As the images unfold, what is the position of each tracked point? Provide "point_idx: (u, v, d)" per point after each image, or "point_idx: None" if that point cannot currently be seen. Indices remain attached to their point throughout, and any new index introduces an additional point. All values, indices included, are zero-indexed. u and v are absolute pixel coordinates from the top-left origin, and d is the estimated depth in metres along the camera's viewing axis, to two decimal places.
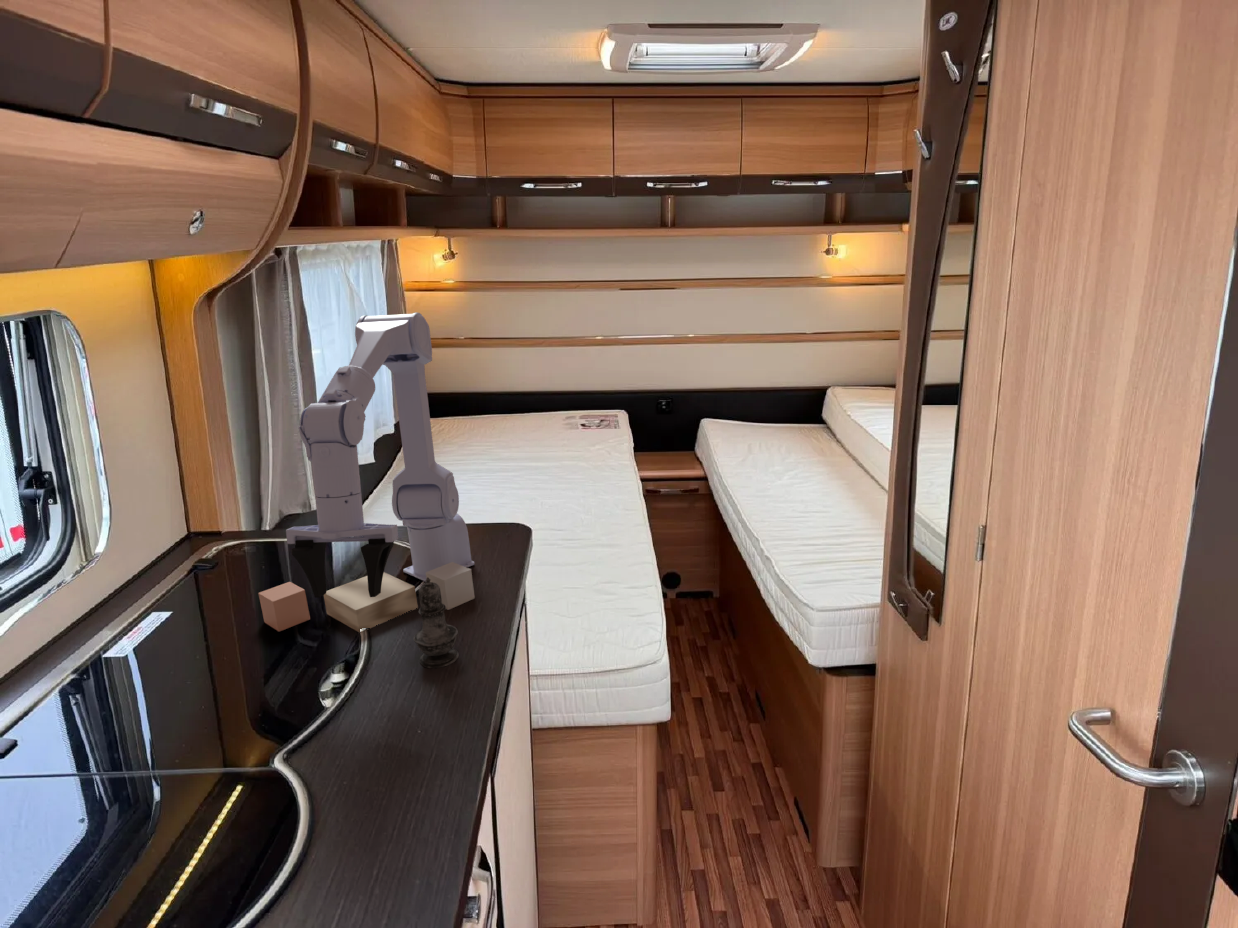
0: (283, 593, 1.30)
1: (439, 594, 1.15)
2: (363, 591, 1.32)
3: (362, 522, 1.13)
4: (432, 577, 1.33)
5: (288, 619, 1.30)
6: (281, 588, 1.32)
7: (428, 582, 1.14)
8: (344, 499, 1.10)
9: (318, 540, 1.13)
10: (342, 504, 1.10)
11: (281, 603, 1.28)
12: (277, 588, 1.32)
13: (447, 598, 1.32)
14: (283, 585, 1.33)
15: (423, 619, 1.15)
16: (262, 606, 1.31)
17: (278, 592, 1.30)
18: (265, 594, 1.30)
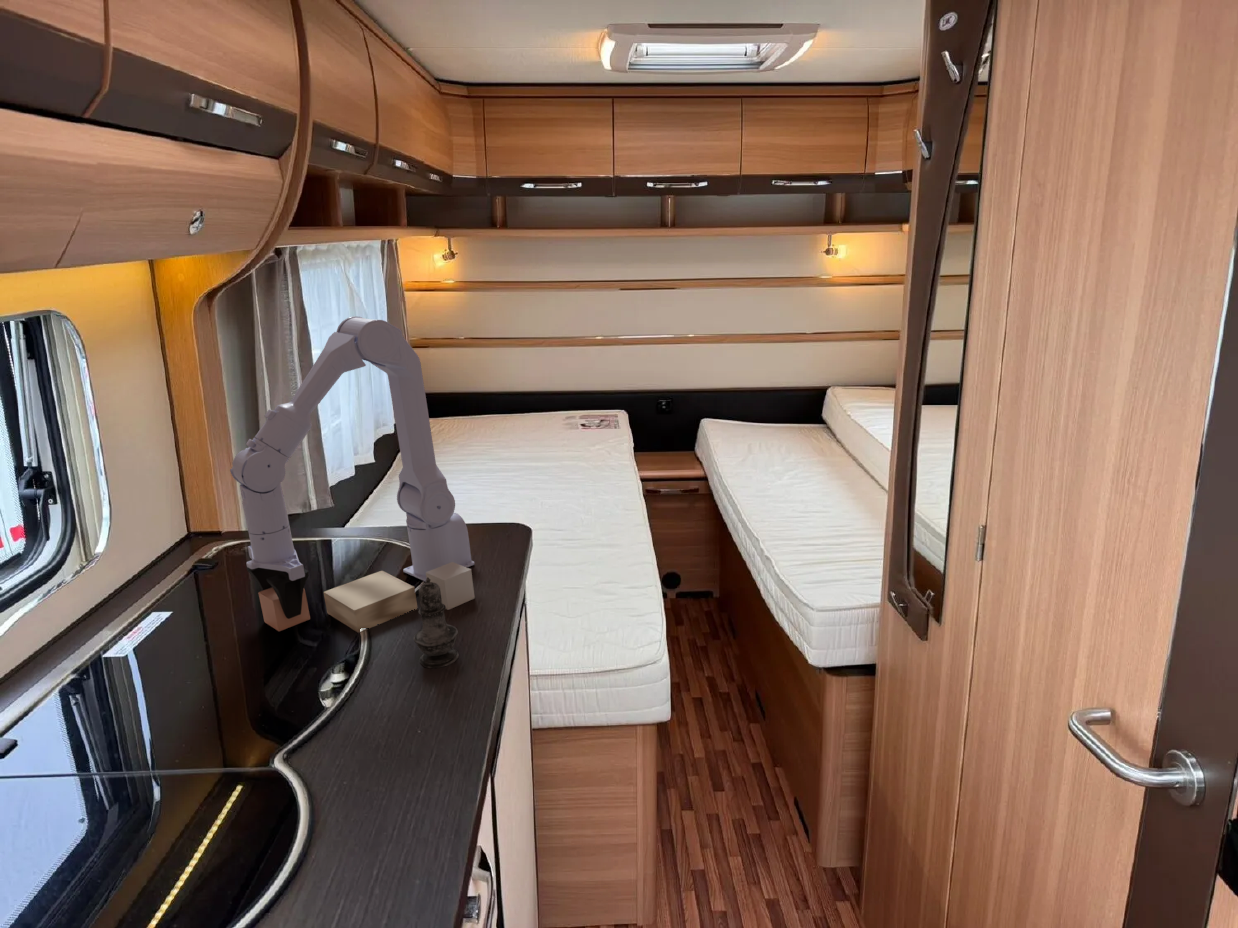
0: None
1: (439, 594, 1.15)
2: (363, 591, 1.32)
3: (284, 555, 1.27)
4: (432, 577, 1.33)
5: None
6: None
7: (428, 582, 1.14)
8: (260, 537, 1.25)
9: None
10: (259, 540, 1.25)
11: None
12: None
13: (447, 598, 1.32)
14: None
15: (423, 619, 1.15)
16: (262, 605, 1.31)
17: None
18: (265, 594, 1.30)
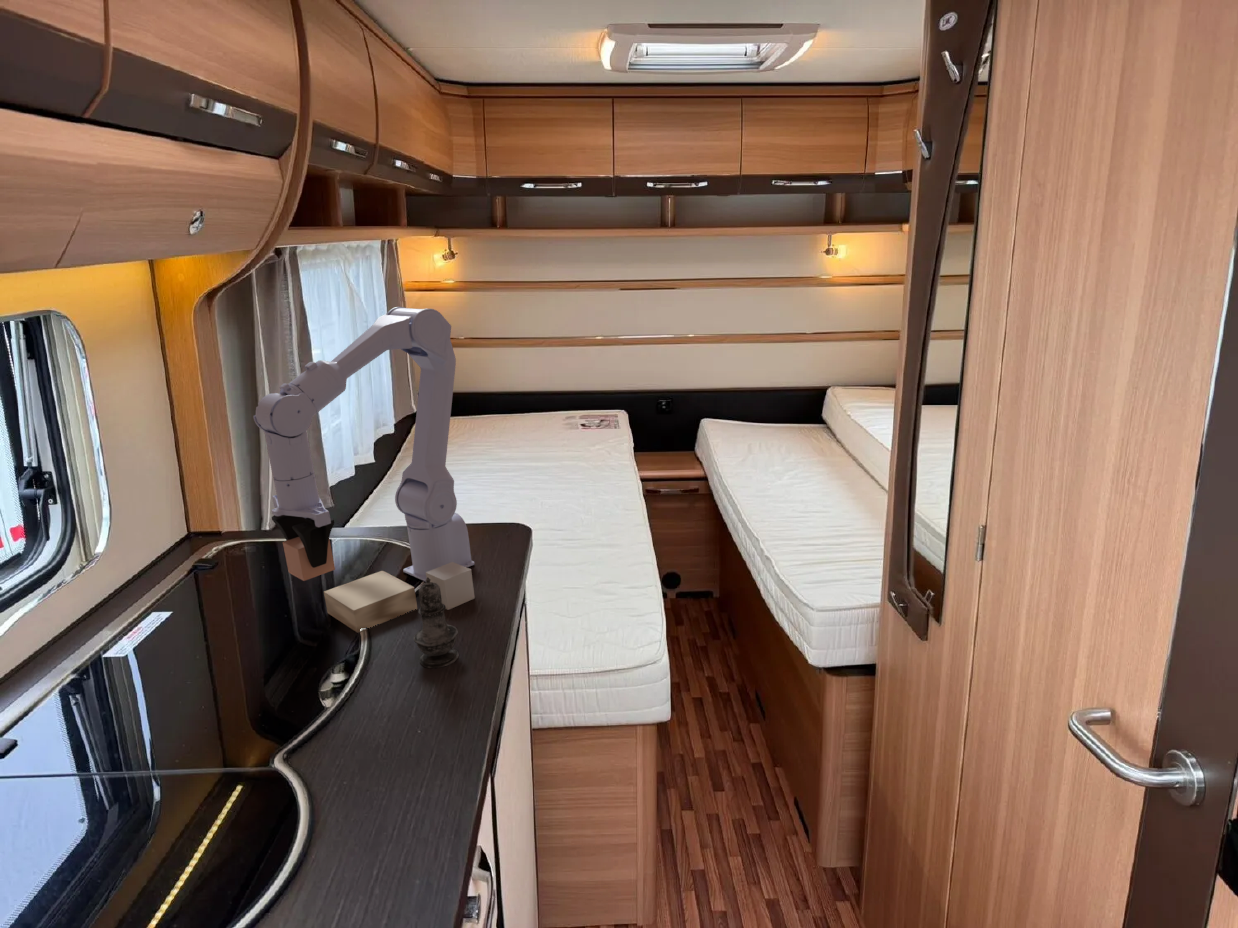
0: None
1: (439, 594, 1.15)
2: (363, 591, 1.32)
3: (309, 503, 1.25)
4: (432, 577, 1.33)
5: (313, 568, 1.28)
6: None
7: (428, 582, 1.14)
8: (285, 483, 1.23)
9: None
10: (284, 487, 1.24)
11: (305, 552, 1.27)
12: None
13: (447, 598, 1.32)
14: None
15: (423, 619, 1.15)
16: (286, 555, 1.29)
17: None
18: (289, 543, 1.28)
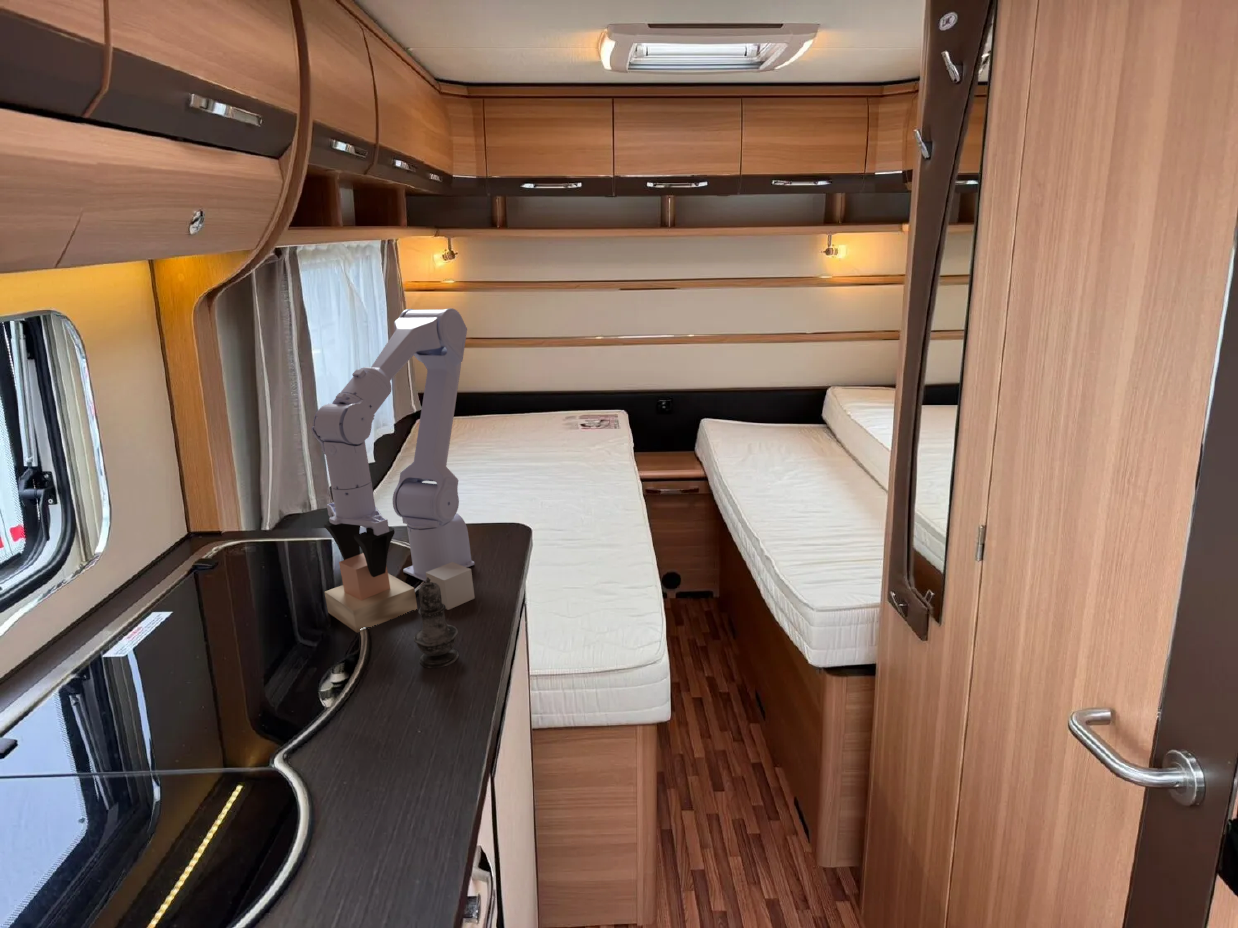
0: (364, 562, 1.30)
1: (439, 594, 1.15)
2: None
3: (366, 511, 1.27)
4: (432, 577, 1.33)
5: (370, 587, 1.30)
6: (361, 557, 1.32)
7: (428, 582, 1.14)
8: (344, 492, 1.25)
9: None
10: (343, 496, 1.25)
11: (363, 572, 1.28)
12: (357, 558, 1.32)
13: (447, 598, 1.32)
14: (362, 555, 1.33)
15: (423, 619, 1.15)
16: (343, 575, 1.31)
17: (359, 561, 1.30)
18: (346, 563, 1.30)
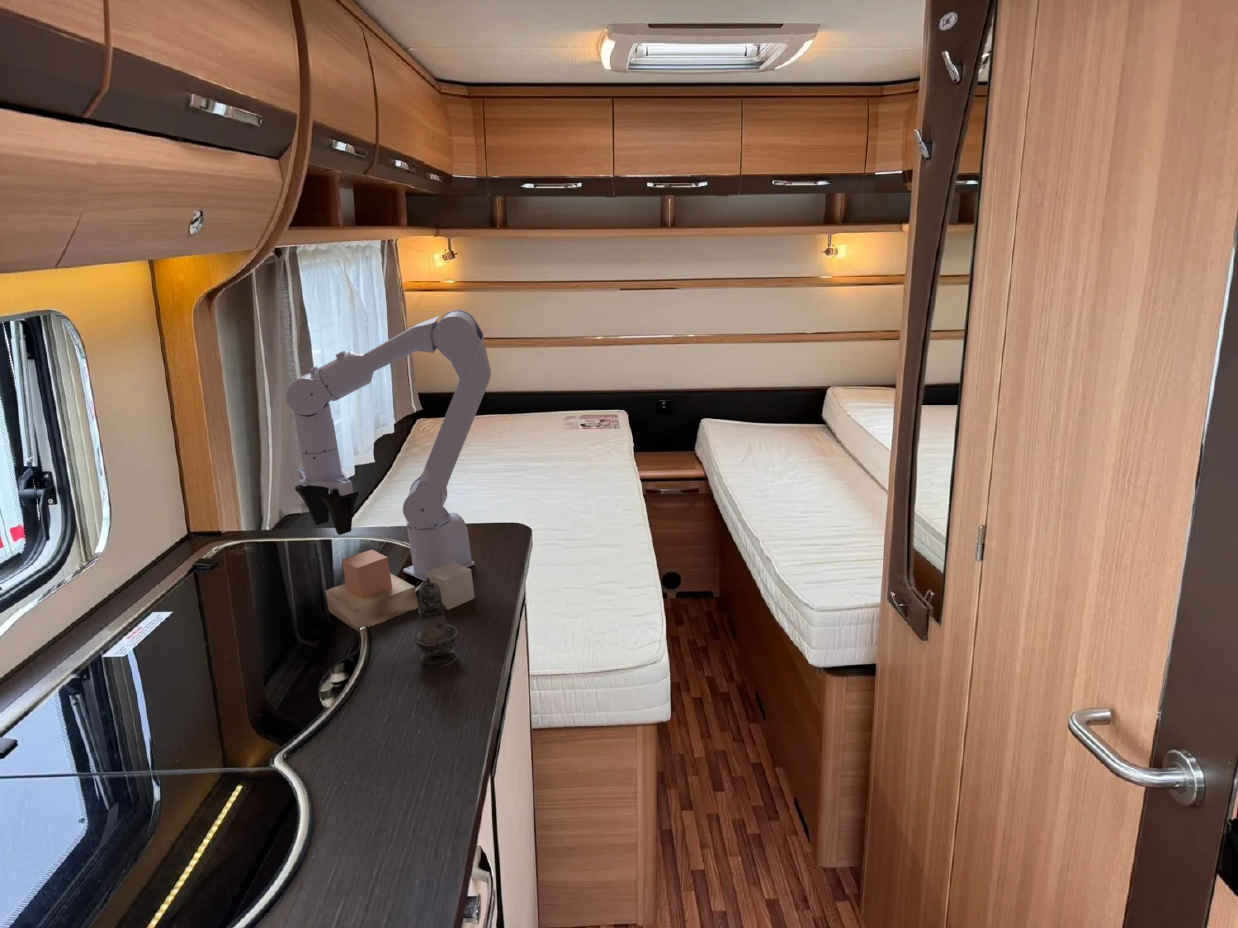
0: (366, 560, 1.30)
1: (439, 594, 1.15)
2: None
3: (333, 474, 1.38)
4: (432, 577, 1.33)
5: (371, 586, 1.30)
6: (364, 555, 1.33)
7: (428, 582, 1.14)
8: (312, 456, 1.36)
9: None
10: (311, 459, 1.37)
11: (364, 570, 1.29)
12: (360, 556, 1.32)
13: (447, 598, 1.32)
14: (365, 553, 1.33)
15: (423, 619, 1.15)
16: (345, 573, 1.32)
17: (361, 559, 1.31)
18: (348, 561, 1.31)
